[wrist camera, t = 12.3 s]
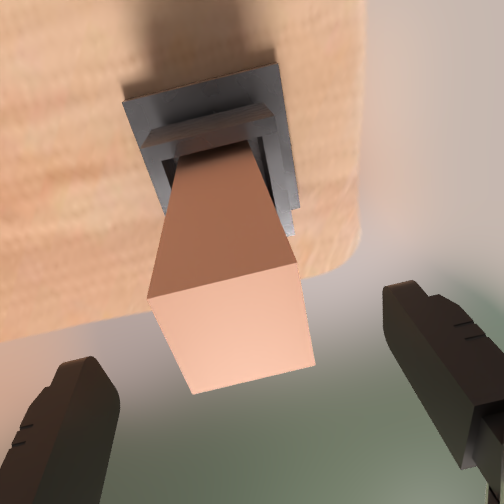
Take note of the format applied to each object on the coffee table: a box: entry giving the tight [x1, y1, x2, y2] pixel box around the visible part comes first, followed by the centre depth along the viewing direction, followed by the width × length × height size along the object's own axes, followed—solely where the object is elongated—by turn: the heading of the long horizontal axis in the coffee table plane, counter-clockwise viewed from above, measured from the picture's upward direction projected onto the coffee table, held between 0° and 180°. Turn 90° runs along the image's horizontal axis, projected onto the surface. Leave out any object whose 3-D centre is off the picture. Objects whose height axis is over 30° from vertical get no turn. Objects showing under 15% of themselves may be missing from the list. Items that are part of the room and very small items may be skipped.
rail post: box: [147, 140, 315, 394], centre depth 16 cm, size 4×4×14 cm
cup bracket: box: [122, 62, 300, 237], centre depth 21 cm, size 10×10×10 cm
